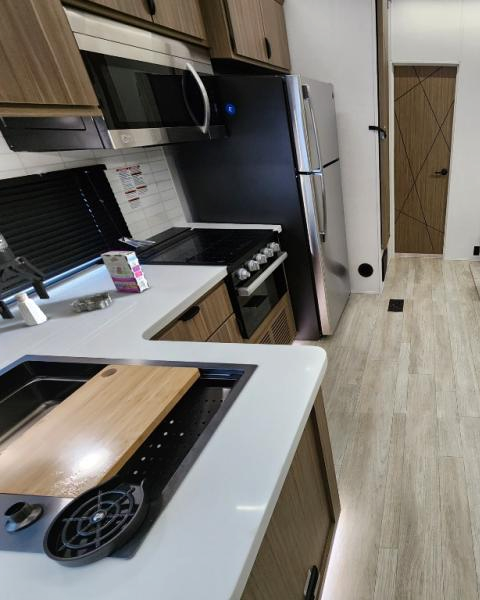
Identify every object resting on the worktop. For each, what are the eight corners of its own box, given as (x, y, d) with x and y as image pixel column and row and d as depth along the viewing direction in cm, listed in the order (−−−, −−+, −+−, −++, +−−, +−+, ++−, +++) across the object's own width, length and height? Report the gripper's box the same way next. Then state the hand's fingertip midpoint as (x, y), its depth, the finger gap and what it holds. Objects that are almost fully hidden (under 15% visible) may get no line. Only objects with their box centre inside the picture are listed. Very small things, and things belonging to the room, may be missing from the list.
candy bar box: (150, 287, 141) (135, 251, 133) (141, 292, 136) (125, 255, 128) (126, 286, 142) (110, 250, 134) (116, 291, 137) (99, 254, 130)
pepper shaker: (27, 327, 114) (8, 299, 108) (25, 322, 117) (7, 294, 112) (48, 321, 117) (31, 293, 112) (46, 316, 120) (30, 289, 115)
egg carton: (114, 300, 131) (110, 290, 129) (105, 309, 125) (101, 299, 123) (82, 303, 128) (77, 294, 126) (71, 313, 122) (66, 303, 120)
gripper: (-39, 265, 94) (4, 327, 104) (40, 237, 115) (68, 291, 126) (-67, 265, 93) (-22, 328, 103) (17, 237, 115) (47, 291, 125)
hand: (28, 308), depth 115 cm, fingers open, 13 cm apart
